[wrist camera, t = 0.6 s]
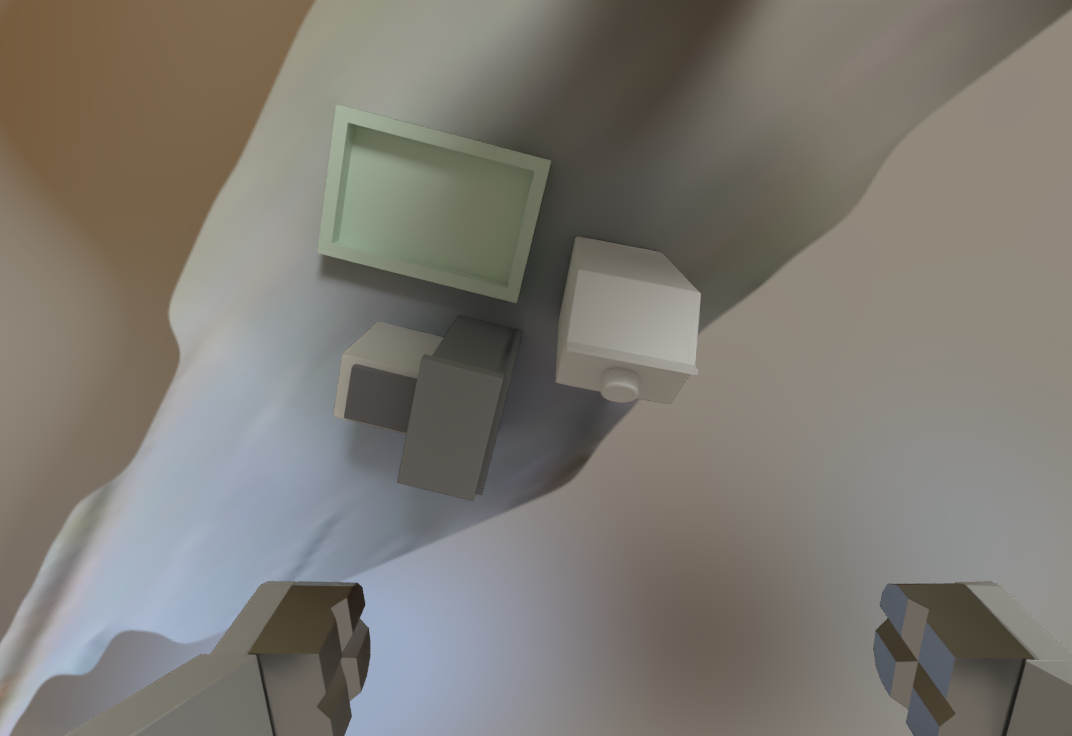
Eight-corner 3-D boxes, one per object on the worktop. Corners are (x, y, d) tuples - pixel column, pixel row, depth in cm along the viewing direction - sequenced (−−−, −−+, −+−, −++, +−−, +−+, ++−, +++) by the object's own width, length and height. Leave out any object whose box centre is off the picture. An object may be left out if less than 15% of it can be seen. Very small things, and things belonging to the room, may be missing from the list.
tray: (346, 106, 47) (336, 104, 45) (551, 160, 48) (551, 160, 46) (327, 248, 51) (317, 253, 49) (518, 296, 51) (516, 303, 49)
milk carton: (575, 235, 50) (580, 283, 32) (663, 252, 50) (717, 309, 32) (558, 320, 52) (553, 410, 34) (641, 336, 52) (681, 433, 34)
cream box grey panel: (378, 320, 53) (338, 357, 44) (493, 349, 53) (478, 391, 44) (369, 374, 54) (329, 420, 45) (481, 402, 55) (463, 453, 46)
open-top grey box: (452, 313, 52) (421, 358, 41) (522, 331, 52) (510, 380, 41) (431, 414, 55) (397, 482, 44) (497, 430, 56) (480, 502, 44)
